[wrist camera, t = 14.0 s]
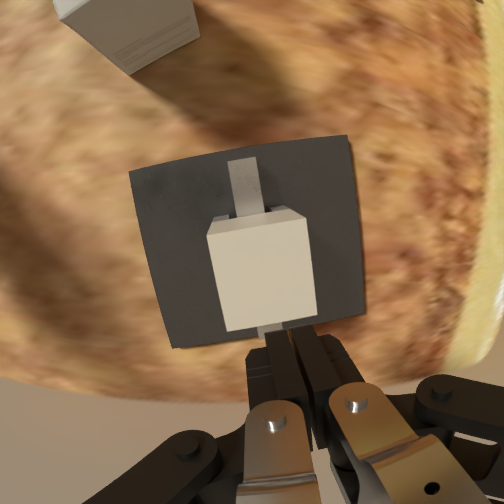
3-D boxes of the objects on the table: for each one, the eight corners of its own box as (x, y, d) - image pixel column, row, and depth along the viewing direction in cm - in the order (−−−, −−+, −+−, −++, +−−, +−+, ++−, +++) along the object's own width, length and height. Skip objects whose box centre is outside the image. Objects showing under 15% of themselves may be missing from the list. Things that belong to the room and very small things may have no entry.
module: (214, 217, 25) (206, 235, 17) (283, 205, 25) (305, 218, 18) (227, 287, 26) (227, 331, 19) (293, 275, 27) (317, 314, 19)
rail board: (132, 171, 25) (118, 171, 21) (342, 135, 25) (358, 131, 22) (173, 343, 29) (167, 363, 25) (360, 308, 29) (374, 324, 26)
